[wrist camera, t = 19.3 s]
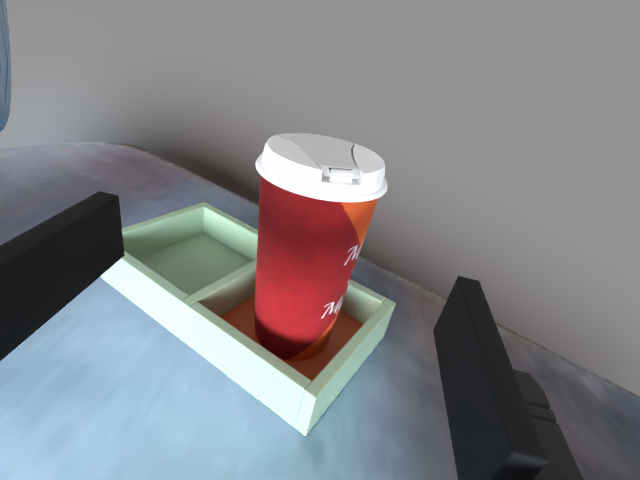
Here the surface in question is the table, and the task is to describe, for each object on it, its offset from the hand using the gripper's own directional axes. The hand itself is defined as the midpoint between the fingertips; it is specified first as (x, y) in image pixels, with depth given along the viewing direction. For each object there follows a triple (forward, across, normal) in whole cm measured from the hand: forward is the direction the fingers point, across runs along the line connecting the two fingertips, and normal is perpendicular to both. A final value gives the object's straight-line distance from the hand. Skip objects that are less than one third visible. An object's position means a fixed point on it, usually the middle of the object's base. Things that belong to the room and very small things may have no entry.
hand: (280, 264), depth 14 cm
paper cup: (+9, 0, -12) cm, 15 cm away
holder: (+11, -4, -13) cm, 17 cm away
